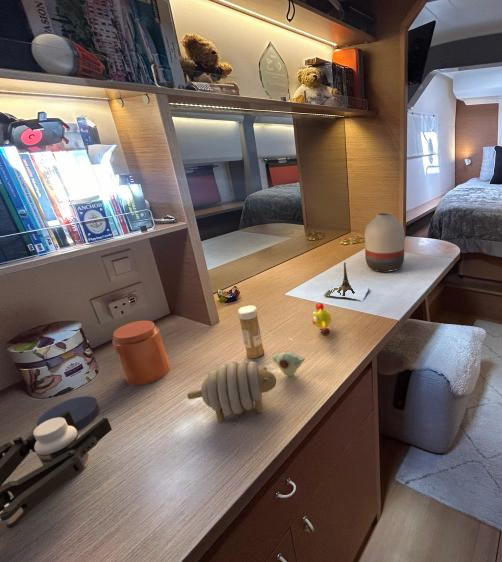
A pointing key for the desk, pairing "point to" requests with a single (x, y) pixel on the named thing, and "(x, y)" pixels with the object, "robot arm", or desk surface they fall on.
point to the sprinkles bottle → (251, 331)
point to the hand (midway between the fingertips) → (88, 420)
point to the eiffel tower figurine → (344, 286)
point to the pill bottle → (55, 440)
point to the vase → (384, 243)
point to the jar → (141, 352)
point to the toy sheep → (235, 388)
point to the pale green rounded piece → (288, 362)
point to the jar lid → (74, 411)
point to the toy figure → (322, 319)
